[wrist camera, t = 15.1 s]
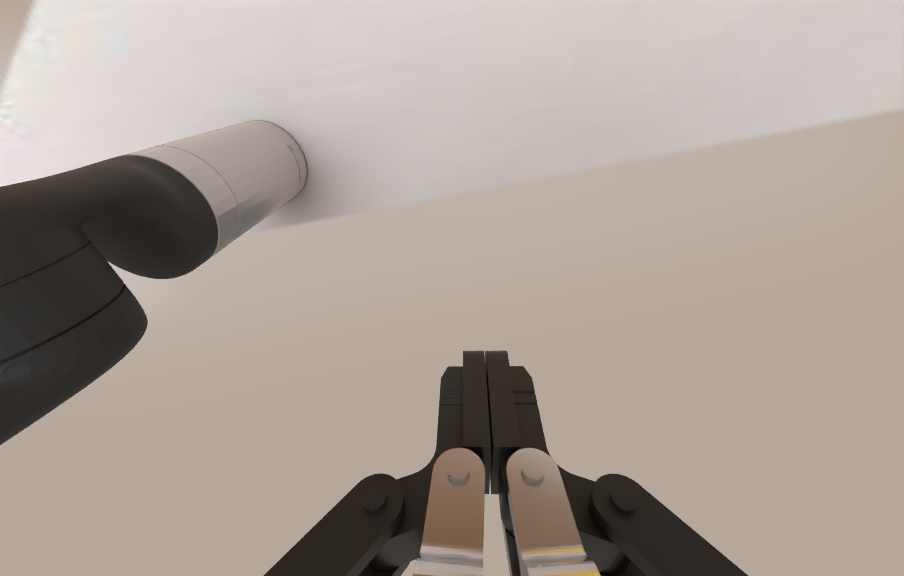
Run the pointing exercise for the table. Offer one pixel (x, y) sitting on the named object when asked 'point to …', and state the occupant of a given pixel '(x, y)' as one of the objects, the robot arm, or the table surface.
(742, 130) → the table surface
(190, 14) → the table surface
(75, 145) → the table surface
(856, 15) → the table surface
